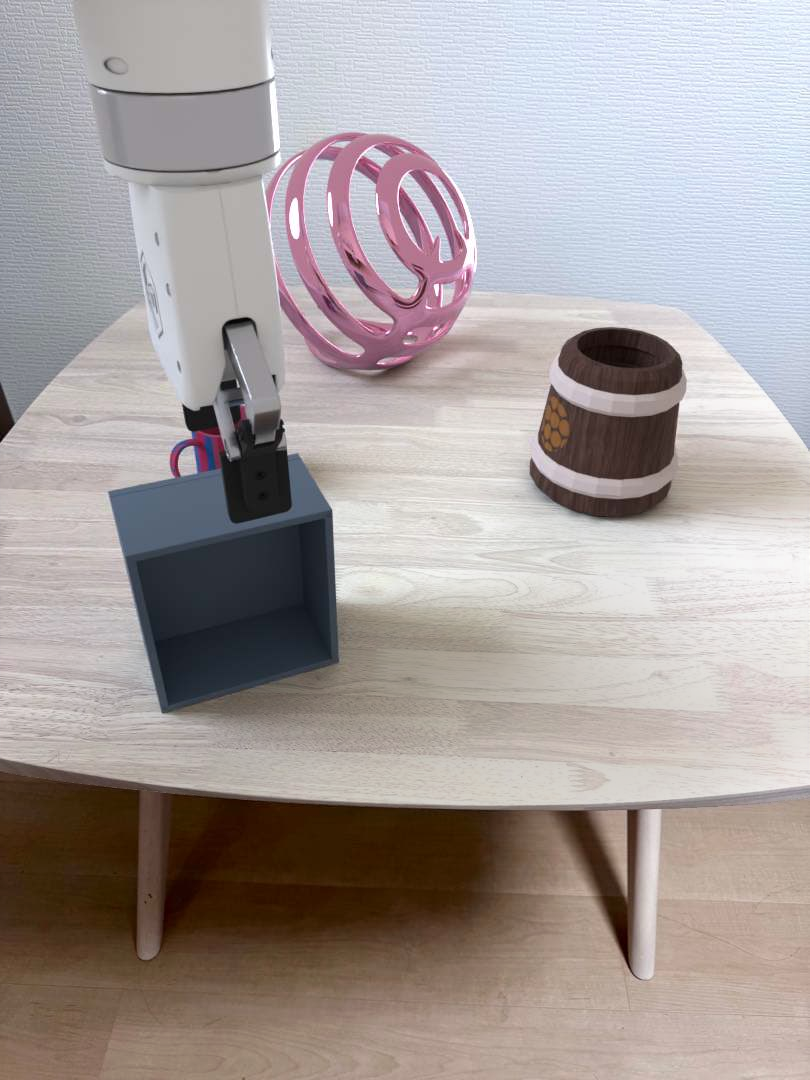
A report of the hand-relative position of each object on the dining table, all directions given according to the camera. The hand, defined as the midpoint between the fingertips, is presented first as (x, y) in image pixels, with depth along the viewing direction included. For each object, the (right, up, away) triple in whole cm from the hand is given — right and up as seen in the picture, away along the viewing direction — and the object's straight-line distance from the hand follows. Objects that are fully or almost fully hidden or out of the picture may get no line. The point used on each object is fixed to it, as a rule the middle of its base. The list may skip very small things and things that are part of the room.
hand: (235, 466), depth 46 cm
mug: (+30, +4, +45) cm, 54 cm away
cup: (-10, +2, +41) cm, 43 cm away
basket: (-4, -13, +22) cm, 26 cm away
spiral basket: (+5, +20, +66) cm, 69 cm away
